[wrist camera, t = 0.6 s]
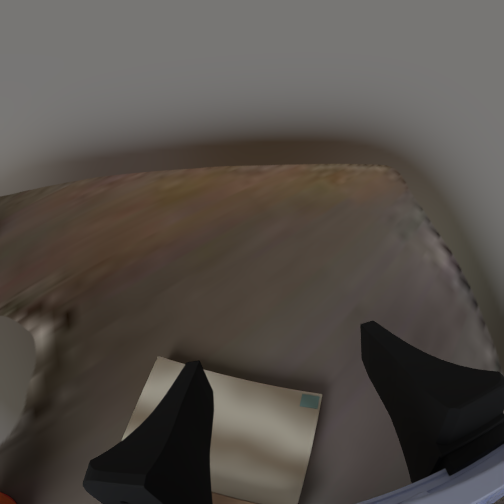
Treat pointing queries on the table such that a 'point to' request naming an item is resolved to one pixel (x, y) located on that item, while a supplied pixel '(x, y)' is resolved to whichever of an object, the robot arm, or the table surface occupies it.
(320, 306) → the table surface
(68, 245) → the table surface
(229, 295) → the table surface
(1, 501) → the coffee cup
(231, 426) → the cream flat block
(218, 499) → the folding leg
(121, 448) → the robot arm
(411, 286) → the table surface
